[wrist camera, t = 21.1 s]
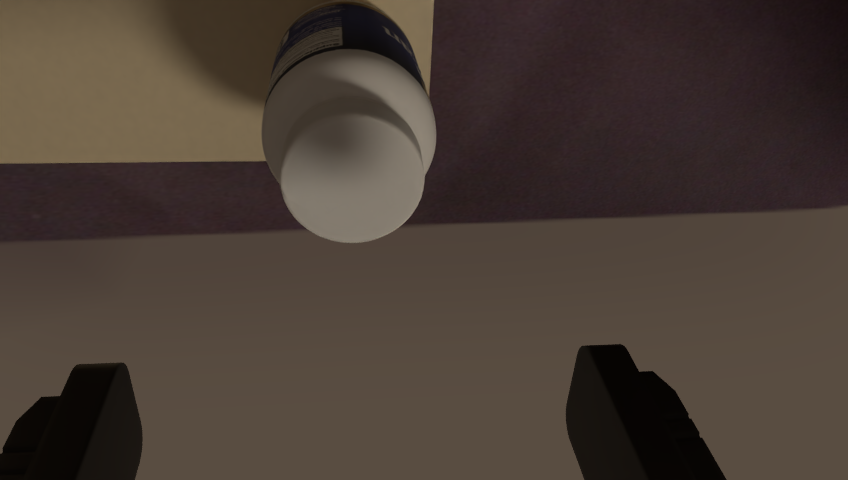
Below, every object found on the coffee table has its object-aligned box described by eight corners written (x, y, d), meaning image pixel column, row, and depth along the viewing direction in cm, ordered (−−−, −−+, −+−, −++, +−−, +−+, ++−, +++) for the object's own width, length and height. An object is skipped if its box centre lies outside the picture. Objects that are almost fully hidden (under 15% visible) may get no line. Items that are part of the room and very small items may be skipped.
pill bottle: (440, 85, 28) (485, 206, 20) (329, 154, 29) (330, 295, 21) (365, -34, 25) (382, 49, 17) (246, 46, 26) (209, 160, 18)
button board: (443, 146, 31) (453, 177, 29) (-12, 149, 29) (-44, 183, 26) (466, -199, 24) (482, -198, 22) (-131, -231, 22) (-191, -234, 19)
